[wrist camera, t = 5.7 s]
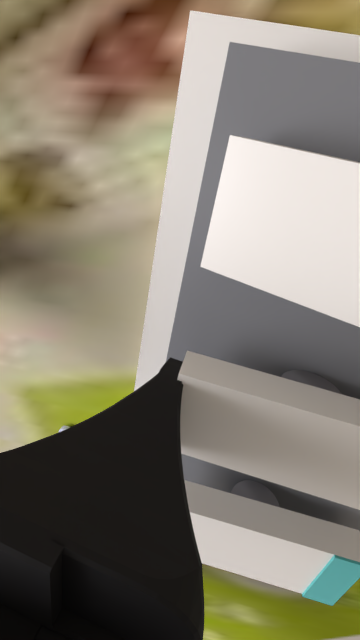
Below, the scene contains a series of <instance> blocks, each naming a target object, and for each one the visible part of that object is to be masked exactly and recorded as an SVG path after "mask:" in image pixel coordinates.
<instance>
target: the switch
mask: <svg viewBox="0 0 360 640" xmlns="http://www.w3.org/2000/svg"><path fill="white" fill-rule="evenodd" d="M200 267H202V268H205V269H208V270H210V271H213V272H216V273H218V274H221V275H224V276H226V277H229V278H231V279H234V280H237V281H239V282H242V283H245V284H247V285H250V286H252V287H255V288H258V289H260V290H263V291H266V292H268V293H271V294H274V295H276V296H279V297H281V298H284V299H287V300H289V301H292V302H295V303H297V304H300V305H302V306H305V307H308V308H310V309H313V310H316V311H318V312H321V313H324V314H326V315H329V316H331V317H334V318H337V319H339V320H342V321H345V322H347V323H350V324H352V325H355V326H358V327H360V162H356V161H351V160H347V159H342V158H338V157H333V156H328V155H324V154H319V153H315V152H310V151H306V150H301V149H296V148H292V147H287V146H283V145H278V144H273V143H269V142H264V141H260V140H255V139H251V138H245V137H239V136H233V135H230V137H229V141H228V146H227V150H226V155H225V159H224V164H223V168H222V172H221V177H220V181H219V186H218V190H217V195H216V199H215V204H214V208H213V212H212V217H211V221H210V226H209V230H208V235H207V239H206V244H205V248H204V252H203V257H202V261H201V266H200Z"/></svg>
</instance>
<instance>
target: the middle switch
mask: <svg viewBox="0 0 360 640" xmlns="http://www.w3.org/2000/svg"><path fill="white" fill-rule="evenodd" d="M177 380H179V381H182V384H183V390H182V399H181V413H180V439H181V454H184V455H187V456H190V457H194V458H197V459H200V460H203V461H206V462H209V463H213V464H216V465H219V466H222V467H225V468H228V469H232V470H235V471H238V472H241V473H244V474H247V475H250V476H254V477H257V478H260V479H263V480H266V481H269V482H273V483H276V484H279V485H282V486H285V487H288V488H292V489H295V490H298V491H301V492H304V493H307V494H311V495H314V496H317V497H320V498H323V499H326V500H330V501H333V502H336V503H339V504H342V505H345V506H349V507H352V508H355V509H358V510H360V399H356V398H353V397H349V396H346V395H342V393H341V392H340V391H339V390H338V389H337V388H336V387H335V386H334V385H333V384H332V383H330V382H329V381H328V380H326V379H324V378H322V377H321V376H318V375H316V374H314V373H311V372H307V371H302V370H291V371H287V372H285V373H284V374H283V375H282V376H281V377H279V376H275V375H272V374H268V373H265V372H261V371H258V370H254V369H250V368H247V367H243V366H240V365H236V364H233V363H229V362H226V361H222V360H219V359H215V358H212V357H208V356H205V355H201V354H198V353H194V352H190V351H187V352H186V355H185V358H184V360H183V363H182V366H181V369H180V371H179V374H178V379H177Z"/></svg>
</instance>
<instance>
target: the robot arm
mask: <svg viewBox="0 0 360 640" xmlns="http://www.w3.org/2000/svg"><path fill="white" fill-rule="evenodd" d="M182 363H183V361H180V360H177V359H174V358H171V357H170V358H169V359H168V360H167V362H166V363H165V364H164V365H163V366H162V368H161V369H160V371H159V373H158V374H157V375H155V376H154V377H153V378H152V379H150V380H149V381H148V382H146V383H145V384H144V385H142V386H141V387H140V388H138V389H137V390H136V391H134V392H133V393H131V394H130V395H128V396H126V397H125V398H123V399H122V400H120V401H119V402H117V403H116V404H114V405H112V406H111V407H109V408H107V409H106V410H104V411H102V412H100V413H98V414H97V415H95V416H93V417H91V418H89V419H87V420H85V421H83V422H81V423H79V424H76V425H74V426H72V427H69V426H63V427H62V428H61V429H60V430H59V433H56V434H54V435H51V436H49V437H46V438H43V439H41V440H38V441H35V442H33V443H30V444H27V445H25V446H22V447H19V448H16V449H13V450H9V451H6V452H2V453H0V640H203V631H204V592H203V577H202V563H201V559H200V555H199V551H198V547H197V543H196V539H195V535H194V531H193V526H192V521H191V516H190V511H189V507H188V500H187V494H186V488H185V482H184V475H183V466H182V455H181V439H180V413H181V399H182V390H183V384H182V381H179V380H177V379H178V374H179V371H180V369H181V366H182Z"/></svg>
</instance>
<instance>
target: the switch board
mask: <svg viewBox="0 0 360 640" xmlns="http://www.w3.org/2000/svg"><path fill="white" fill-rule="evenodd" d="M230 135H233V136H239V137H245V138H251V139H255V140H260V141H264V142H269V143H273V144H278V145H283V146H287V147H292V148H296V149H301V150H306V151H310V152H315V153H319V154H324V155H328V156H333V157H338V158H342V159H347V160H351V161H356V162H360V35H354V34H347V33H340V32H333V31H327V30H320V29H313V28H306V27H299V26H292V25H286V24H279V23H272V22H265V21H258V20H251V19H245V18H238V17H231V16H224V15H217V14H211V13H204V12H197V11H190V16H189V23H188V29H187V36H186V43H185V50H184V57H183V63H182V70H181V77H180V84H179V90H178V97H177V104H176V111H175V118H174V124H173V131H172V138H171V145H170V151H169V158H168V165H167V172H166V179H165V185H164V192H163V199H162V206H161V213H160V219H159V226H158V233H157V240H156V246H155V253H154V260H153V267H152V274H151V280H150V287H149V294H148V301H147V307H146V314H145V321H144V328H143V335H142V341H141V348H140V355H139V362H138V369H137V375H136V382H135V389H134V391H136V390H137V389H138V388H140V387H141V386H142V385H144V384H145V383H146V382H148V381H149V380H150V379H152V378H153V377H154V376H155V375H157V374H158V373H159V371H160V369H161V368H162V366H163V365H164V364H165V363H166V362H167V360H168V359H169V358H170V357H171V358H174V359H177V360H180V361H183V360H184V358H185V355H186V352H187V351H190V352H194V353H198V354H201V355H205V356H208V357H212V358H215V359H219V360H222V361H226V362H229V363H233V364H236V365H240V366H243V367H247V368H250V369H254V370H258V371H261V372H265V373H268V374H272V375H275V376H279V377H281V376H282V375H283V374H284V373H285V372H287V371H291V370H302V371H307V372H311V373H314V374H316V375H318V376H321V377H322V378H324V379H326V380H328V381H329V382H330V383H332V384H333V385H334V386H335V387H336V388H337V389H338V390H339V391H340V392H341V393H342V395H346V396H349V397H353V398H356V399H360V327H358V326H355V325H352V324H350V323H347V322H345V321H342V320H339V319H337V318H334V317H331V316H329V315H326V314H324V313H321V312H318V311H316V310H313V309H310V308H308V307H305V306H302V305H300V304H297V303H295V302H292V301H289V300H287V299H284V298H281V297H279V296H276V295H274V294H271V293H268V292H266V291H263V290H260V289H258V288H255V287H252V286H250V285H247V284H245V283H242V282H239V281H237V280H234V279H231V278H229V277H226V276H224V275H221V274H218V273H216V272H213V271H210V270H208V269H205V268H202V267H200V266H201V261H202V257H203V252H204V248H205V244H206V239H207V235H208V230H209V226H210V221H211V217H212V212H213V208H214V204H215V199H216V195H217V190H218V186H219V181H220V177H221V172H222V168H223V164H224V159H225V155H226V150H227V146H228V141H229V137H230ZM181 455H182V466H183V475H184V480H186V481H190V482H193V483H197V484H200V485H204V486H207V487H211V488H214V489H218V490H221V491H225V492H228V493H231V491H232V489H233V487H234V486H235V485H236V484H237V483H239V482H241V481H244V480H252V481H256V482H259V483H261V484H263V485H264V486H266V487H267V488H268V489H269V490H270V491H271V492H272V493H273V494H274V496H275V497H276V499H277V501H278V503H279V507H280V508H284V509H287V510H290V511H294V512H297V513H301V514H304V515H308V516H311V517H315V518H318V519H322V520H325V521H329V522H332V523H336V524H339V525H343V526H346V527H349V528H353V529H356V530H359V531H360V510H358V509H355V508H352V507H349V506H345V505H342V504H339V503H336V502H333V501H330V500H326V499H323V498H320V497H317V496H314V495H311V494H307V493H304V492H301V491H298V490H295V489H292V488H288V487H285V486H282V485H279V484H276V483H273V482H269V481H266V480H263V479H260V478H257V477H254V476H250V475H247V474H244V473H241V472H238V471H235V470H232V469H228V468H225V467H222V466H219V465H216V464H213V463H209V462H206V461H203V460H200V459H197V458H194V457H190V456H187V455H184V454H181Z"/></svg>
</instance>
